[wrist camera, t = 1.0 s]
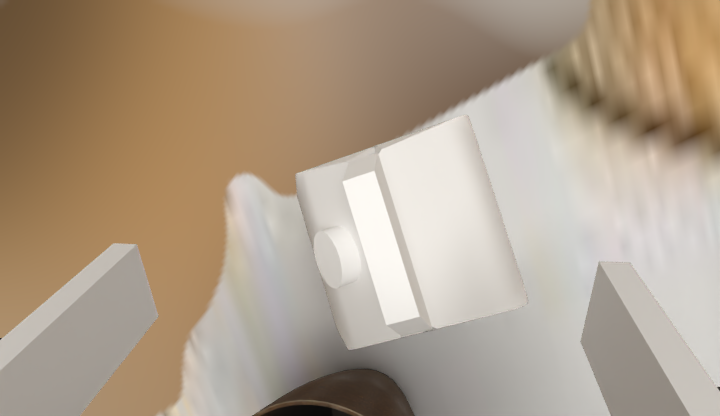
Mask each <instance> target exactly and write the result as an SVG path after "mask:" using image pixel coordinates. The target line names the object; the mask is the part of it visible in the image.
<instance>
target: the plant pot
mask: <svg viewBox="0 0 720 416" xmlns="http://www.w3.org/2000/svg"><path fill="white" fill-rule="evenodd" d="M252 416H414V414H413V411H412V409H411V407H410V405H409V403H408V401H407V399H406V397H405V396H404V394H403V392H402V391H401V390H400V388H399V387H398V386H397V384H396V383H395V382H394V381H393V380H392V379H390V378H389V377H388V376H386V375H385V374H383V373H380V372H378V371H374V370H369V369H356V370H347V371H342V372H337V373H334V374H330V375H327V376H324V377H321V378H319V379H316V380H314V381H311V382H309V383H307V384H305V385H303V386H300V387H298V388H296V389H294V390H293V391H291V392H289V393H287V394H286V395H284V396H282V397H281V398H279V399H277V400H276V401H274V402H273V403H271V404H270V405H268V406H266V407H265V408H263V409H262V410H260V411H259V412H257V413H256V414H254V415H252Z"/></svg>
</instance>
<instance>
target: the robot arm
mask: <svg viewBox="0 0 720 416" xmlns="http://www.w3.org/2000/svg"><path fill="white" fill-rule="evenodd" d="M157 318H158V313H157V310H156V307H155V303H154V300H153V297H152V294H151V290H150V286H149V283H148V280H147V276H146V273H145V270H144V266H143V263H142V260H141V257H140V253H139V250H138V246H137V244H112V245H111V246H110V247H109V248H108V249H107V250H105V251H104V252H103V253H102V254H101V255H99V256H98V257H97V258H96V259H95V260H94V261H92V262H91V263H90V264H89V265H88V266H87V267H85V268H84V269H83V270H82V271H81V272H79V274H77V275H76V276H75V277H74V278H72V279H71V280H70V281H69V282H68V283H67V284H65V285H64V286H63V287H62V288H61V289H60V290H59V291H57V292H56V293H55V294H54V295H53V296H51V297H50V298H49V299H48V300H47V301H46V302H44V303H43V304H42V305H41V306H40V307H39V308H38V309H36V310H35V311H34V312H33V313H32V314H30V315H29V316H28V317H27V318H26V319H24V320H23V321H22V322H21V323H20V324H19V325H17V326H16V327H15V328H14V329H13V330H12V331H10V332H9V333H8V334H7V335H6V336H4V337H3V338H0V416H80V415H81V414H82V412H83V411H84V410H85V409H86V407H87V406H88V405H89V404H90V402H91V401H92V400H93V398H94V397H95V396H96V395H97V393H98V392H99V391H100V390H101V388H102V387H103V386H104V385H105V383H106V382H107V381H108V380H109V378H110V377H111V376H112V374H113V373H114V372H115V371H116V369H117V368H118V367H119V366H120V364H121V363H122V362H123V361H124V359H125V358H126V357H127V355H128V354H129V353H130V352H131V350H132V349H133V348H134V347H135V345H136V344H137V343H138V342H139V340H140V339H141V338H142V337H143V335H144V334H145V333H146V331H147V330H148V329H149V328H150V326H151V325H152V324H153V323H154V321H155V320H156V319H157ZM581 344H582V346H583V349H584V351H585V354H586V356H587V358H588V361H589V363H590V366H591V368H592V371H593V373H594V375H595V378H596V380H597V383H598V385H599V388H600V390H601V392H602V395H603V397H604V400H605V402H606V405H607V407H608V409H609V412H610V414H611V416H720V387H716V385H715V384H714V382H713V381H712V379H711V378H710V377H709V375H708V374H707V372H706V371H705V369H704V368H703V366H702V365H701V364H700V362H699V361H698V359H697V358H696V356H695V355H694V354H693V352H692V351H691V349H690V348H689V346H688V345H687V344H686V342H685V341H684V339H683V338H682V336H681V335H680V333H679V332H678V331H677V329H676V328H675V326H674V325H673V323H672V322H671V321H670V319H669V318H668V316H667V315H666V313H665V312H664V311H663V309H662V308H661V306H660V305H659V303H658V302H657V301H656V299H655V298H654V296H653V295H652V293H651V292H650V290H649V289H648V288H647V286H646V285H645V283H644V282H643V280H642V279H641V278H640V276H639V275H638V273H637V272H636V270H635V269H634V268H633V266H632V265H631V263H626V262H599V263H598V267H597V272H596V276H595V281H594V285H593V289H592V294H591V298H590V302H589V307H588V311H587V316H586V320H585V324H584V329H583V333H582V338H581Z"/></svg>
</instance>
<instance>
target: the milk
mask: <svg viewBox="0 0 720 416" xmlns="http://www.w3.org/2000/svg"><path fill="white" fill-rule="evenodd" d="M296 187H297V197H298V201H299V204H300V207H301V211H302V214H303V217H304V221H305V224H306V227H307V231H308V234H309V237H310V241H311V244H312V247H313V251H314V255H315V259H316V263H317V266H318V268H319V271H320V274H321V277H322V281H323V284H324V287H325V291H326V294H327V297H328V301H329V304H330V307H331V311H332V314H333V317H334V321H335V324H336V327H337V330H338V332H339V334H340V335H341V337H342V339H343V341H344V343H345V345H346V346H347V348H348V350H354V349H358V348H362V347H366V346H370V345H374V344H378V343H382V342H386V341H390V340H395V339H399V338H403V337H407V336H411V335H415V334H419V333H423V332H427V331H431V330H435V329H439V328H443V327H447V326H451V325H455V324H459V323H463V322H467V321H471V320H475V319H479V318H483V317H487V316H491V315H495V314H499V313H503V312H507V311H511V310H514V309H517V308H520V307H523V306H525V305H526V304H528V298H527V295H526V291H525V288H524V284H523V281H522V278H521V275H520V272H519V269H518V266H517V263H516V259H515V256H514V253H513V250H512V247H511V244H510V241H509V238H508V235H507V232H506V229H505V226H504V223H503V219H502V216H501V213H500V210H499V207H498V204H497V201H496V198H495V195H494V192H493V189H492V186H491V182H490V179H489V176H488V173H487V170H486V167H485V164H484V161H483V158H482V155H481V152H480V149H479V145H478V142H477V139H476V136H475V133H474V131H473V128H472V125H471V122H470V119H469V116H468V115H463V116H460V117H457V118H454V119H451V120H448V121H445V122H442V123H440V124H437V125H434V126H431V127H428V128H425V129H422V130H420V131H417V132H414V133H411V134H408V135H405V136H402V137H400V138H397V139H394V140H391V141H388V142H385V143H383V144H380V145H376V146H374V147H371V148H368V149H365V150H362V151H360V152H357V153H354V154H351V155H348V156H345V157H342V158H340V159H337V160H334V161H331V162H328V163H325V164H322V165H320V166H317V167H314V168H311V169H308V170H305V171H302V172H299V173H297V174H296Z"/></svg>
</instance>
